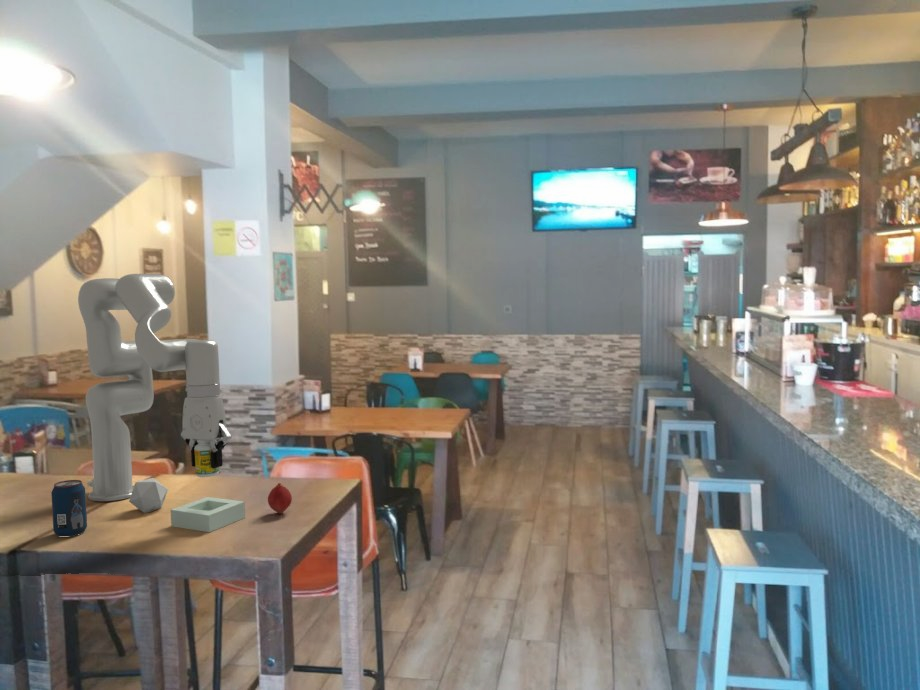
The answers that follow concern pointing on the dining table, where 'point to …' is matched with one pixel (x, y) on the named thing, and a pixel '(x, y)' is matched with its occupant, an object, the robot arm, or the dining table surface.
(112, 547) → the dining table surface
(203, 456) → the supplement bottle
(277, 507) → the onion
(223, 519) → the sage block
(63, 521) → the soda can
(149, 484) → the die
